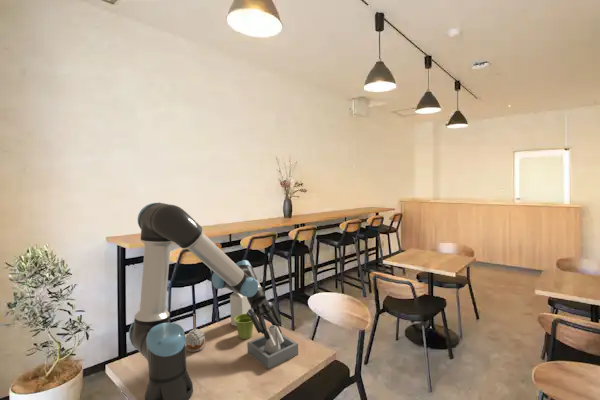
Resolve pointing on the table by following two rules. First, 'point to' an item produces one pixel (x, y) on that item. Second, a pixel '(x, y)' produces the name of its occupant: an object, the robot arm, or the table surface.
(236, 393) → the table surface
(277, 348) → the flask
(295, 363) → the table surface
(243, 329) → the plant pot
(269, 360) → the open box
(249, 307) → the milk carton
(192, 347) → the decorative ornament
